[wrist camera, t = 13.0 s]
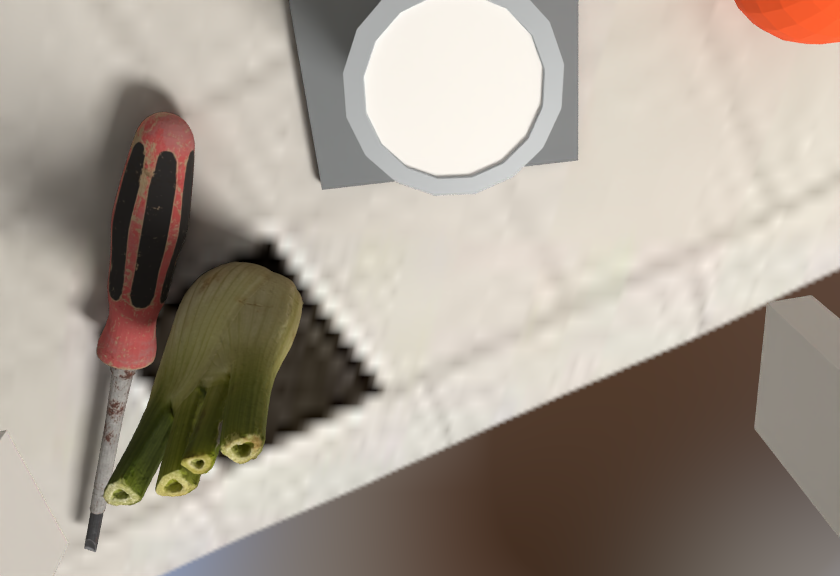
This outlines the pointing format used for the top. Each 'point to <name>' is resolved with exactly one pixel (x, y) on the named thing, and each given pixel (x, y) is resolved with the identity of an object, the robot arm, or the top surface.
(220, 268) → the fennel bulb
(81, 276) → the top surface
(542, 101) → the white cup
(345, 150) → the slate mat
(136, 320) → the screwdriver
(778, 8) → the clementine
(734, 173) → the top surface
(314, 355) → the top surface
